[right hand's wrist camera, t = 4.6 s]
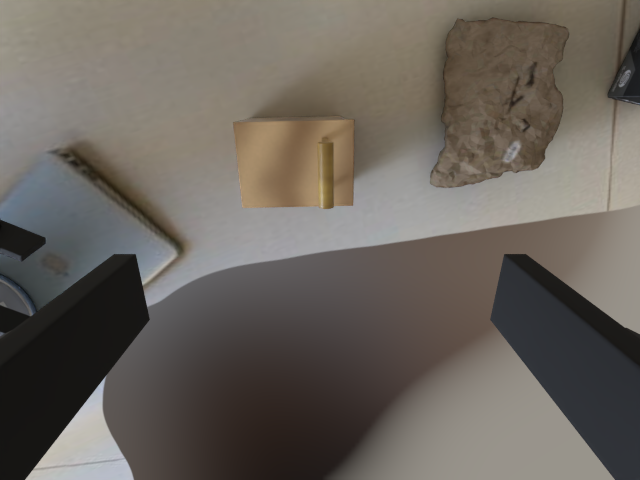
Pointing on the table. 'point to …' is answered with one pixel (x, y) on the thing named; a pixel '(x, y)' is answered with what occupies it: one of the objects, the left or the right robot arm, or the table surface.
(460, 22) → the stone
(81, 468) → the table surface
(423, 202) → the table surface
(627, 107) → the table surface
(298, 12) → the table surface
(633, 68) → the graphics card box
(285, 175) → the lid
